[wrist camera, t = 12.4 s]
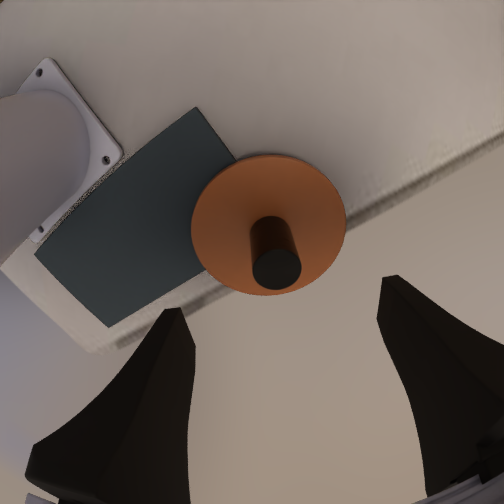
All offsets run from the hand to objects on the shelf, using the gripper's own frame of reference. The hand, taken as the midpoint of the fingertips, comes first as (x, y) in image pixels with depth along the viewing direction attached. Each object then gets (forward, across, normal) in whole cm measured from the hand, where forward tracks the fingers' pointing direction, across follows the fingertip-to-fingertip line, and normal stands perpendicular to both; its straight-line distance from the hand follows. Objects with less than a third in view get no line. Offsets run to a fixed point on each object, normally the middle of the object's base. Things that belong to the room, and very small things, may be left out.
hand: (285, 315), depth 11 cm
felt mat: (+8, +8, 0) cm, 11 cm away
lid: (+7, 0, 0) cm, 7 cm away
